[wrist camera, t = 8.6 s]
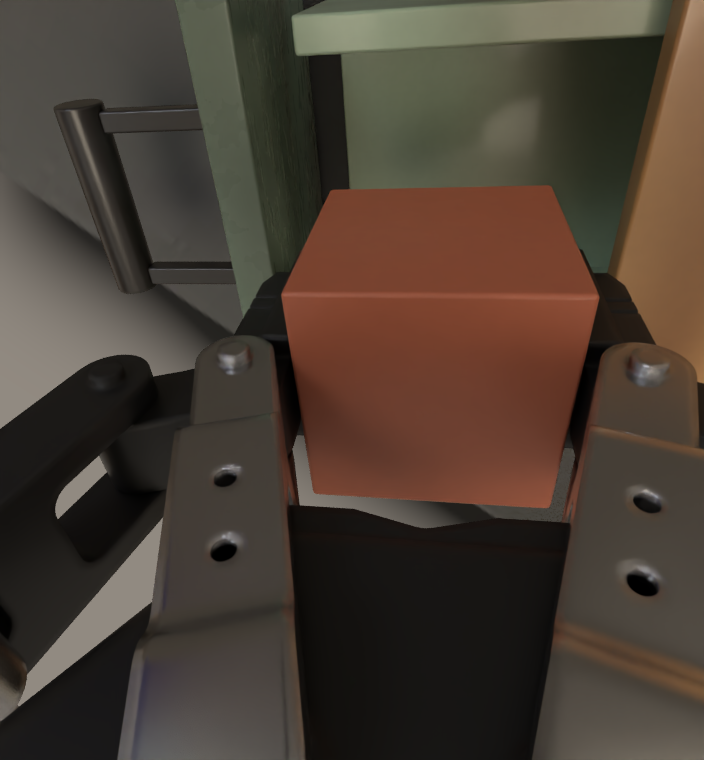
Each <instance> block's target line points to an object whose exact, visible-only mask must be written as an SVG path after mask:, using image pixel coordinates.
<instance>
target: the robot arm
mask: <svg viewBox="0 0 704 760" xmlns="http://www.w3.org/2000/svg"><path fill="white" fill-rule="evenodd" d="M579 250H580V253H581V255H582V257H583V260H584V262H585V264H586V266H587V269H588V271H589V273H590V276H591V278H592V280H593V282H594V285H595V287H596V289H597V292H598V294H599V302H598V306H597V311H596V315H595V319H594V323H593V327H592V332H591V336H590V340H589V344H588V349H587V353H586V357H585V361H584V366H583V370H582V374H581V378H580V382H579V387H578V391H577V395H576V399H575V404H574V408H573V412H572V416H571V420H570V425H569V429H568V433H567V437H566V442H565V446H564V448H573V449H574V453H575V460H574V464H573V468H572V472H571V476H570V481H569V486H568V491H567V496H566V501H565V506H564V511H563V516H562V521H561V522H547V521H532V520H516V519H501V518H496V519H489V520H483V521H477V522H469V523H463V524H456V525H449V526H443V527H436V528H427V529H426V528H418V527H414V526H411V525H407V524H404V523H400V522H397V521H394V520H390V519H387V518H383V517H380V516H376V515H373V514H369V513H366V512H362V511H359V510H355V509H345V508H330V507H315V506H300V505H299V497H298V488H297V479H296V471H295V462H294V456H293V451H292V448H293V446H294V442H295V439H296V436H297V435H304V431H303V425H302V419H301V413H300V407H299V401H298V395H297V389H296V383H295V377H294V370H293V364H292V358H291V352H290V346H289V340H288V334H287V328H286V322H285V315H284V309H283V303H282V297H281V294H282V291H283V289H284V287H285V285H286V283H287V281H288V279H289V276H290V274H291V272H292V270H293V268H294V266H295V264H296V262H297V260H298V258H299V256H300V253H301V251H302V250H301V251H300V252H299V253H298V255H297V257H296V260H295V262H294V264H293V266H292V268H291V270H290V272H277V273H275V274H274V275H273V276H271V277H270V278H269V279H267V280H266V281H265V282H263V283H262V285H261V287H260V288H259V290H258V292H257V294H256V298H254V299H253V301H252V303H251V305H250V309H248V310H247V312H246V314H245V316H244V318H243V319H242V321H241V323H240V325H239V327H238V329H237V330H236V332H235V334H234V336H232V337H228V338H224V339H221V340H218V341H216V342H214V343H212V344H210V345H209V346H207V347H206V348H205V349H203V350H202V351H201V352H200V354H199V355H198V357H197V359H196V363H195V369H191V370H187V371H183V372H177V373H171V374H165V375H159V376H154V377H153V375H152V372H151V369H150V366H149V364H148V363H147V361H145V360H144V359H143V358H141V357H138V356H133V355H116V356H110V357H106V358H103V359H100V360H97V361H95V362H92V363H90V364H88V365H87V366H85V367H83V368H82V369H80V370H79V371H77V372H76V373H75V374H73V375H72V376H71V377H69V378H68V379H67V380H65V381H64V382H63V383H61V384H60V385H58V386H57V387H56V388H54V389H53V390H52V391H50V392H49V393H48V394H47V395H45V396H44V397H42V398H41V399H40V400H38V401H37V402H36V403H34V404H33V405H32V406H30V407H29V408H28V409H27V410H25V411H24V412H22V413H21V414H20V415H18V416H17V417H16V418H14V419H13V420H12V421H10V422H9V423H8V424H6V425H5V426H4V427H2V428H1V429H0V760H704V384H703V383H700V382H697V373H696V370H695V368H694V366H693V365H692V364H691V363H690V362H689V361H688V360H687V359H686V358H684V357H683V356H681V355H680V354H678V353H676V352H674V351H672V350H670V349H667V348H664V347H661V346H658V345H656V343H655V341H654V340H653V338H652V336H651V334H650V332H649V330H648V328H647V326H646V324H645V322H644V321H643V319H642V317H641V315H640V314H638V309H637V307H636V305H635V304H634V302H632V298H631V296H630V294H629V292H628V290H627V288H626V286H625V285H624V284H623V283H621V282H620V281H618V280H617V279H616V278H614V277H613V276H611V275H610V274H608V273H593V271H592V269H591V267H590V265H589V263H588V260H587V258H586V256H585V254H584V252H583V250H582V249H579ZM98 456H100V458H101V461H102V463H103V464H104V467H105V469H106V470H107V473H106V474H105V475H104V476H103V477H101V479H99V480H98V481H97V482H96V483H95V484H94V485H93V486H92V487H91V488H90V489H89V490H88V491H87V492H86V493H85V494H84V495H83V496H82V497H81V498H80V499H79V500H78V501H77V502H76V503H74V504H73V506H71V507H70V508H69V509H68V510H67V511H66V512H65V513H64V514H63V515H62V516H61V517H60V518H59V519H57V517H56V513H55V506H56V501H57V499H58V496H59V494H60V493H61V491H62V490H63V489H64V487H65V486H66V485H67V484H68V483H69V482H71V481H72V480H73V479H74V478H75V477H76V476H77V475H78V474H79V473H80V472H81V471H82V470H83V469H85V468H86V467H87V466H88V465H89V464H90V463H91V462H92V461H93V460H94V459H96V458H97V457H98ZM162 518H163V524H162V531H161V538H160V546H159V553H158V561H157V569H156V576H155V584H154V592H153V599H152V602H151V603H150V604H149V605H148V606H146V607H145V608H144V609H142V610H141V611H140V612H139V613H137V614H136V615H135V616H134V617H132V618H131V619H130V620H128V621H127V622H126V623H125V624H123V625H122V626H121V627H120V628H118V629H117V630H116V631H115V632H113V633H112V634H111V635H109V636H108V637H107V638H106V639H104V640H103V641H102V642H101V643H99V644H98V645H97V646H96V647H94V648H93V649H92V650H91V651H89V652H88V653H87V654H85V655H84V656H83V657H82V658H80V659H79V660H78V661H77V662H75V663H74V664H73V665H72V666H70V667H69V668H68V669H66V670H65V671H64V672H63V673H61V674H60V675H59V676H57V677H56V678H55V679H54V680H52V681H51V682H50V683H49V684H47V685H46V686H45V687H44V688H42V689H41V690H40V691H38V692H37V693H36V694H35V695H34V696H32V697H31V698H30V699H28V700H27V701H26V702H24V703H23V704H22V705H21V706H18V705H17V704H18V703H19V701H20V699H21V696H22V694H23V691H24V689H25V685H26V680H27V674H28V673H29V672H30V671H31V669H32V668H33V667H34V666H35V665H36V664H37V662H38V661H39V660H40V659H41V658H42V657H43V655H44V654H45V653H46V652H47V651H48V650H49V648H50V647H51V646H52V645H53V644H54V643H55V642H56V640H57V639H58V638H59V637H60V636H61V634H62V633H63V632H64V631H65V630H66V629H67V628H68V627H69V625H70V624H71V623H72V622H73V620H74V619H75V618H76V617H77V616H78V615H79V614H80V613H81V611H82V610H83V609H84V608H85V607H86V606H87V604H88V603H89V602H90V601H91V600H92V599H93V598H94V596H95V595H96V594H97V593H98V592H99V591H100V589H101V588H102V587H103V586H104V585H105V584H106V583H107V581H108V580H109V579H110V578H111V576H112V575H113V574H114V573H115V572H116V571H117V570H118V568H119V567H120V566H121V565H122V564H123V563H124V562H125V561H126V559H127V558H128V557H129V556H130V555H131V553H132V552H133V551H134V550H135V549H136V548H137V547H138V545H139V544H140V543H141V542H142V541H143V540H144V538H145V537H146V536H147V535H148V534H149V533H150V532H151V530H152V529H153V528H154V527H155V526H156V524H157V523H158V522H159V521H160V520H161V519H162Z"/></svg>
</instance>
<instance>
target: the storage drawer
mask: <svg viewBox="0 0 704 760" xmlns="http://www.w3.org/2000/svg"><path fill="white" fill-rule="evenodd" d="M672 2H673V0H326V1H324V2H321V3H319V4H317V5H315V6H312V7H310V8H308V9H306V10H303V0H175V3H176V8H177V13H178V17H179V22H180V27H181V31H182V36H183V40H184V45H185V50H186V54H187V59H188V64H189V68H190V73H191V77H192V82H193V87H194V91H195V96H196V101H197V104H192V105H170V106H147V107H124V108H107V109H105V106H104V103H103V102H102V101H101V100H98V99H83V100H75V101H70V102H65V103H62V104H59V105H57V106H55V107H54V113H55V115H56V118H57V121H58V124H59V126H60V129H61V132H62V135H63V137H64V140H65V143H66V146H67V148H68V151H69V154H70V157H71V159H72V162H73V165H74V168H75V170H76V173H77V176H78V178H79V181H80V184H81V187H82V189H83V192H84V195H85V198H86V200H87V203H88V206H89V209H90V211H91V214H92V217H93V220H94V222H95V225H96V228H97V231H98V233H99V236H100V239H101V242H102V244H103V247H104V250H105V253H106V255H107V258H108V261H109V264H110V266H111V269H112V272H113V275H114V277H115V280H116V283H117V286H118V288H119V290H120V291H121V292H123V293H126V294H135V293H141V292H145V291H147V290H150V289H152V288H153V287H155V286H156V285H157V284H236V286H237V290H238V295H239V300H240V304H241V309H242V313H243V318H244V316H245V314H246V312H247V310H248V309H250V305H251V303H252V301H253V299H254V298H256V294H257V292H258V290H259V288H260V287H261V285H262V283H263V282H265V281H266V280H267V279H269V278H270V277H271V276H273V275H274V274H275V273H277V272H290V270H291V268H292V266H293V264H294V262H295V260H296V257H297V255H298V253H299V252H300V251H301V250H302V249H303V247H304V245H305V243H306V241H307V239H308V237H309V235H310V233H311V230H312V228H313V226H314V224H315V222H316V220H317V218H318V216H319V214H320V212H321V210H322V207H323V202H322V192H321V182H320V172H319V162H318V152H317V142H316V131H315V121H314V111H313V101H312V91H311V81H310V71H309V61H308V56H315V55H333V54H341V68H342V83H343V98H344V113H345V128H346V143H347V158H348V172H349V187H350V189H394V188H443V187H491V186H539V185H549V186H551V187H552V189H553V191H554V193H555V196H556V198H557V200H558V203H559V205H560V207H561V209H562V212H563V214H564V216H565V219H566V221H567V223H568V225H569V228H570V230H571V232H572V234H573V237H574V239H575V241H576V244H577V246H578V248H579V249H582V250H583V252H584V254H585V256H586V258H587V260H588V263H589V265H590V267H591V269H592V271H593V273H607V272H608V267H609V263H610V259H611V255H612V251H613V247H614V242H615V238H616V234H617V230H618V226H619V222H620V218H621V213H622V209H623V205H624V201H625V197H626V193H627V189H628V184H629V180H630V176H631V172H632V168H633V164H634V160H635V155H636V151H637V147H638V143H639V139H640V135H641V131H642V126H643V122H644V118H645V114H646V110H647V106H648V101H649V97H650V93H651V89H652V85H653V81H654V77H655V72H656V68H657V64H658V60H659V56H660V52H661V48H662V43H663V39H664V35H665V31H666V27H667V23H668V19H669V14H670V10H671V6H672ZM190 130H203V133H204V138H205V142H206V147H207V152H208V156H209V161H210V165H211V170H212V175H213V179H214V184H215V189H216V193H217V198H218V202H219V207H220V212H221V216H222V221H223V226H224V230H225V235H226V239H227V244H228V249H229V253H230V258H231V262H154V263H153V261H152V258H151V254H150V251H149V248H148V245H147V242H146V238H145V235H144V232H143V229H142V225H141V222H140V219H139V216H138V213H137V209H136V206H135V203H134V200H133V197H132V193H131V190H130V187H129V184H128V180H127V177H126V174H125V171H124V168H123V164H122V161H121V158H120V155H119V151H118V148H117V145H116V142H115V139H114V135H113V133H136V132H163V131H190Z"/></svg>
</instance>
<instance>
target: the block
mask: <svg viewBox="0 0 704 760" xmlns="http://www.w3.org/2000/svg"><path fill="white" fill-rule="evenodd" d="M281 297H282V303H283V309H284V315H285V322H286V328H287V334H288V340H289V346H290V352H291V358H292V364H293V370H294V377H295V383H296V389H297V395H298V401H299V407H300V413H301V419H302V425H303V431H304V437H305V443H306V450H307V456H308V462H309V468H310V474H311V480H312V486H313V491H314V493H316V494H326V495H341V496H357V497H373V498H390V499H405V500H421V501H438V502H455V503H470V504H486V505H502V506H518V507H534V508H549V507H550V505H551V501H552V497H553V492H554V488H555V484H556V480H557V475H558V471H559V467H560V463H561V459H562V454H563V450H564V446H565V442H566V437H567V433H568V429H569V425H570V420H571V416H572V412H573V408H574V404H575V399H576V395H577V391H578V387H579V382H580V378H581V374H582V370H583V366H584V361H585V357H586V353H587V349H588V344H589V340H590V336H591V332H592V327H593V323H594V319H595V315H596V311H597V306H598V302H599V294H598V292H597V289H596V287H595V285H594V282H593V280H592V278H591V276H590V273H589V271H588V269H587V266H586V264H585V262H584V260H583V257H582V255H581V253H580V250H579V248H578V246H577V244H576V241H575V239H574V237H573V234H572V232H571V230H570V228H569V225H568V223H567V221H566V219H565V216H564V214H563V212H562V209H561V207H560V205H559V203H558V200H557V198H556V196H555V193H554V191H553V189H552V187H551V186H549V185H539V186H491V187H443V188H394V189H346V190H331V191H330V193H329V195H328V197H327V199H326V201H325V203H324V205H323V207H322V210H321V212H320V214H319V216H318V218H317V220H316V222H315V224H314V226H313V228H312V230H311V233H310V235H309V237H308V239H307V241H306V243H305V245H304V247H303V249H302V251H301V253H300V256H299V258H298V260H297V262H296V264H295V266H294V268H293V270H292V272H291V274H290V276H289V279H288V281H287V283H286V285H285V287H284V289H283V291H282V294H281Z"/></svg>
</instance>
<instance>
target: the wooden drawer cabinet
mask: <svg viewBox="0 0 704 760" xmlns="http://www.w3.org/2000/svg"><path fill="white" fill-rule="evenodd" d="M607 273H608V274H610V275H611V276H613V277H614V278H616V279H617V280H618V281H620V282H621V283H623V284H624V285H625V286H626V288H627V290H628V292H629V294H630V296H631V298H632V302H634V304H635V305H636V307H637V309H638V314H640V315H641V317H642V319H643V321H644V322H645V324H646V326H647V328H648V330H649V332H650V334H651V336H652V338H653V340H654V341H655V343H656V345H658V346H661V347H664V348H667V349H670V350H672V351H674V352H676V353H678V354H680V355H681V356H683V357H684V358H686V359H687V360H688V361H689V362H690V363H691V364H692V365H693V366H694V368H695V370H696V373H697V382H700V383H703V384H704V0H673V2H672V6H671V10H670V14H669V19H668V23H667V27H666V31H665V35H664V39H663V43H662V48H661V52H660V56H659V60H658V64H657V68H656V72H655V77H654V81H653V85H652V89H651V93H650V97H649V101H648V106H647V110H646V114H645V118H644V122H643V126H642V131H641V135H640V139H639V143H638V147H637V151H636V155H635V160H634V164H633V168H632V172H631V176H630V180H629V184H628V189H627V193H626V197H625V201H624V205H623V209H622V213H621V218H620V222H619V226H618V230H617V234H616V238H615V242H614V247H613V251H612V255H611V259H610V263H609V267H608V272H607Z"/></svg>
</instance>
